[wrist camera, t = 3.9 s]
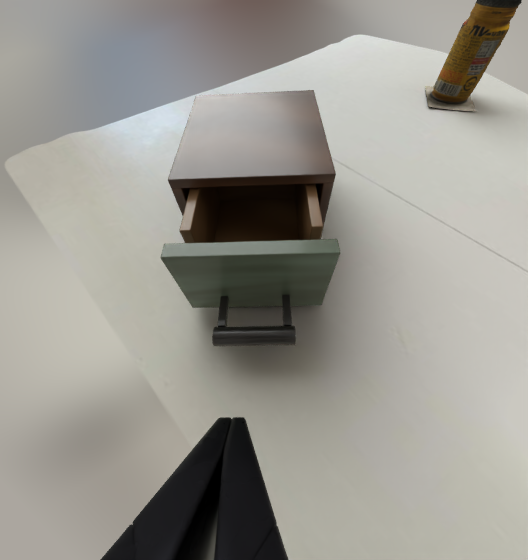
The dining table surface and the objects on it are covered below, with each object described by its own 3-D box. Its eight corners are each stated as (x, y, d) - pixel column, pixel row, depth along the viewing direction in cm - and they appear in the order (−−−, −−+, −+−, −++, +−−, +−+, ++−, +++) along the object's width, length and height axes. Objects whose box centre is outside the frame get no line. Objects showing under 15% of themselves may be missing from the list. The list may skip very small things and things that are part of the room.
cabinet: (317, 251, 26) (336, 173, 18) (199, 255, 26) (167, 179, 18) (304, 168, 33) (313, 89, 26) (213, 172, 34) (195, 95, 26)
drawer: (328, 351, 19) (353, 311, 13) (184, 353, 19) (143, 315, 13) (306, 201, 29) (315, 137, 22) (210, 205, 29) (192, 142, 23)
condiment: (467, 90, 44) (525, -12, 34) (475, 112, 40) (543, 3, 30) (424, 87, 46) (467, -12, 35) (427, 108, 41) (476, 2, 31)
